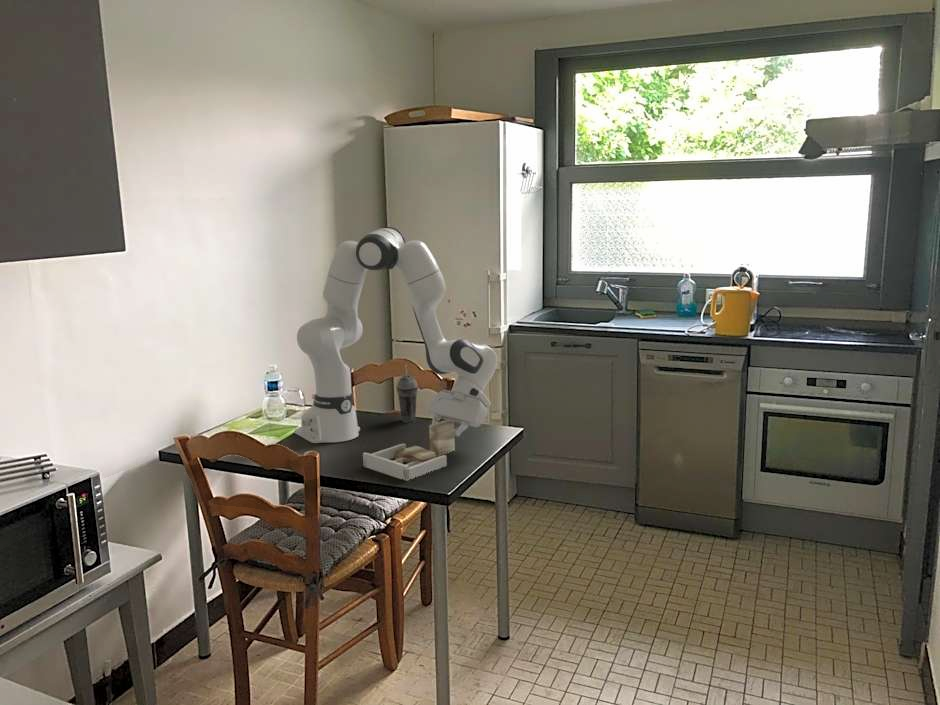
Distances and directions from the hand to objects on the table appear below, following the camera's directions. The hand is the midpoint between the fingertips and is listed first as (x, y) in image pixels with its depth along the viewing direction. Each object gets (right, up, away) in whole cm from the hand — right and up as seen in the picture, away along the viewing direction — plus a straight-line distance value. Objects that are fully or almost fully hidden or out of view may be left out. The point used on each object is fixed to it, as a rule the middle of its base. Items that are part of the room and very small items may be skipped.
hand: (444, 432), depth 233 cm
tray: (-11, -9, -10) cm, 17 cm away
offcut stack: (-7, -8, -7) cm, 13 cm away
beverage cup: (-13, 0, +35) cm, 37 cm away
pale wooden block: (0, -6, +1) cm, 6 cm away
